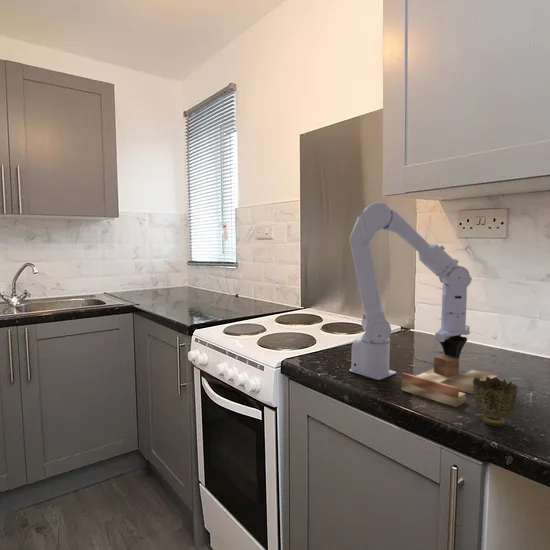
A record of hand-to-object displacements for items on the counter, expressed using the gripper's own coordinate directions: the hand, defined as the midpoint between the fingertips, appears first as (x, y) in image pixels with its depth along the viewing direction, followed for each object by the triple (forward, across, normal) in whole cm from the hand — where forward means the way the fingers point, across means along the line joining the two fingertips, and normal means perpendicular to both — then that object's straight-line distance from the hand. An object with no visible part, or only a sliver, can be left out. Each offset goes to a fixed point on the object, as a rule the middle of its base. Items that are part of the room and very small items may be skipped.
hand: (451, 364), depth 103 cm
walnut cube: (+1, -5, -1) cm, 5 cm away
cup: (+3, -20, -18) cm, 27 cm away
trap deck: (+3, -7, -4) cm, 9 cm away
